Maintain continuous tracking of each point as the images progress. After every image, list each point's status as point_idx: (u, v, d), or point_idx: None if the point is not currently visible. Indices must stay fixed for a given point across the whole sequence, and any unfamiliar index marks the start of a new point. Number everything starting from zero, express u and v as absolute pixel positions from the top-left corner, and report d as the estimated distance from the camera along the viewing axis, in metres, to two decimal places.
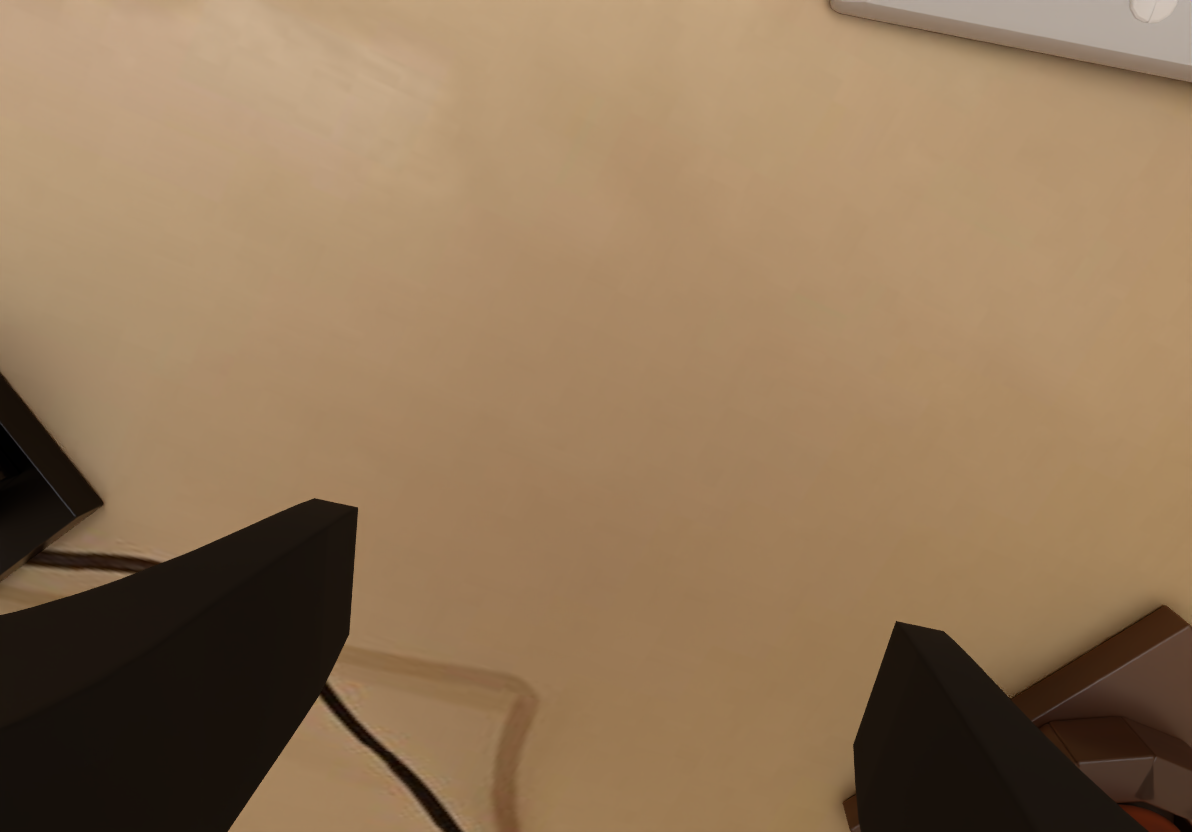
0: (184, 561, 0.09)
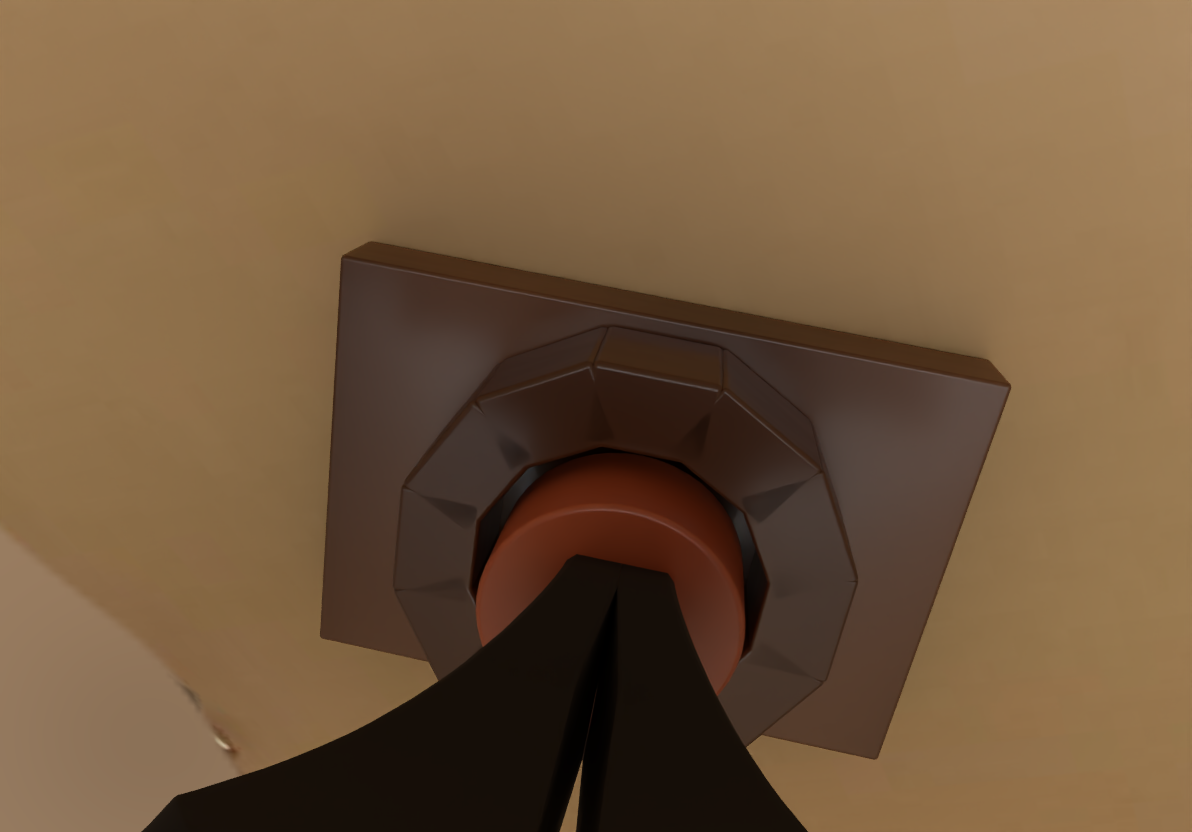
0: (517, 634, 0.09)
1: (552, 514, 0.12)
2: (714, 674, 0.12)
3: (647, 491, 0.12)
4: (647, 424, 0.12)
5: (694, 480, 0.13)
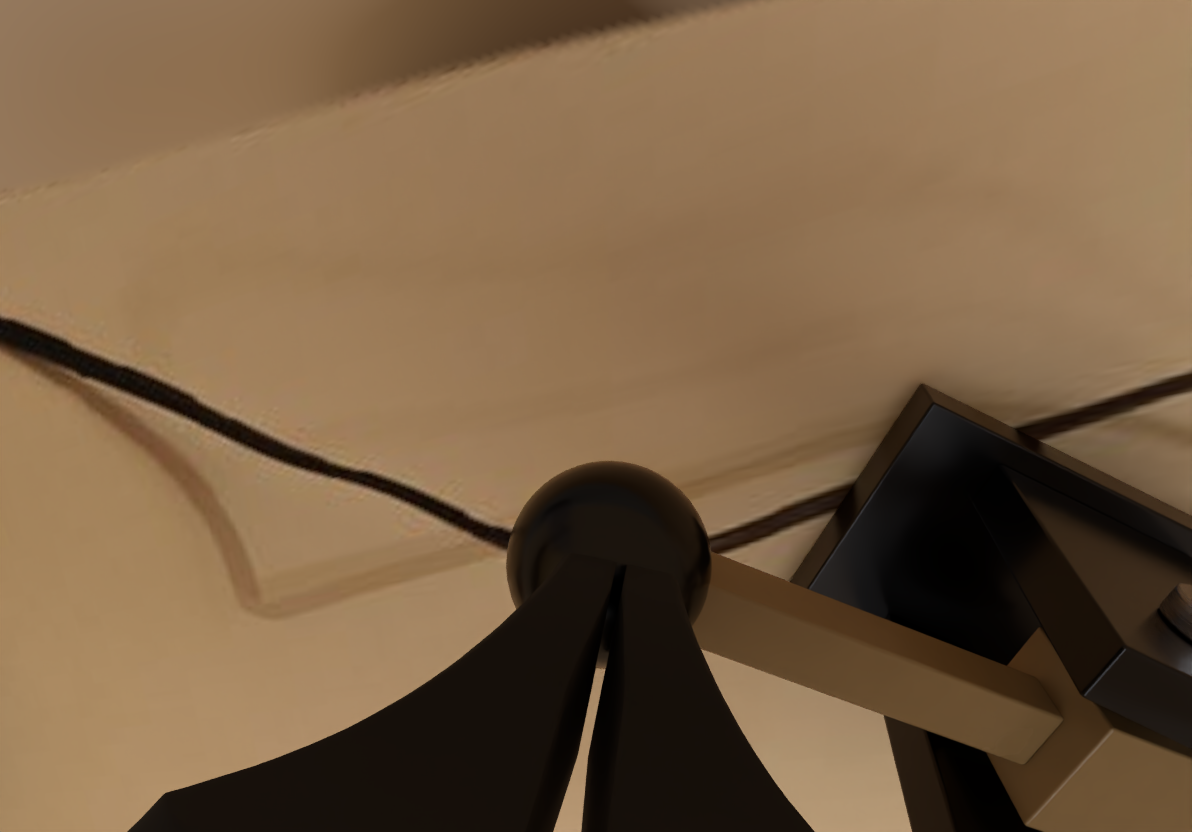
0: (510, 632, 0.09)
1: None
2: None
3: None
4: None
5: None
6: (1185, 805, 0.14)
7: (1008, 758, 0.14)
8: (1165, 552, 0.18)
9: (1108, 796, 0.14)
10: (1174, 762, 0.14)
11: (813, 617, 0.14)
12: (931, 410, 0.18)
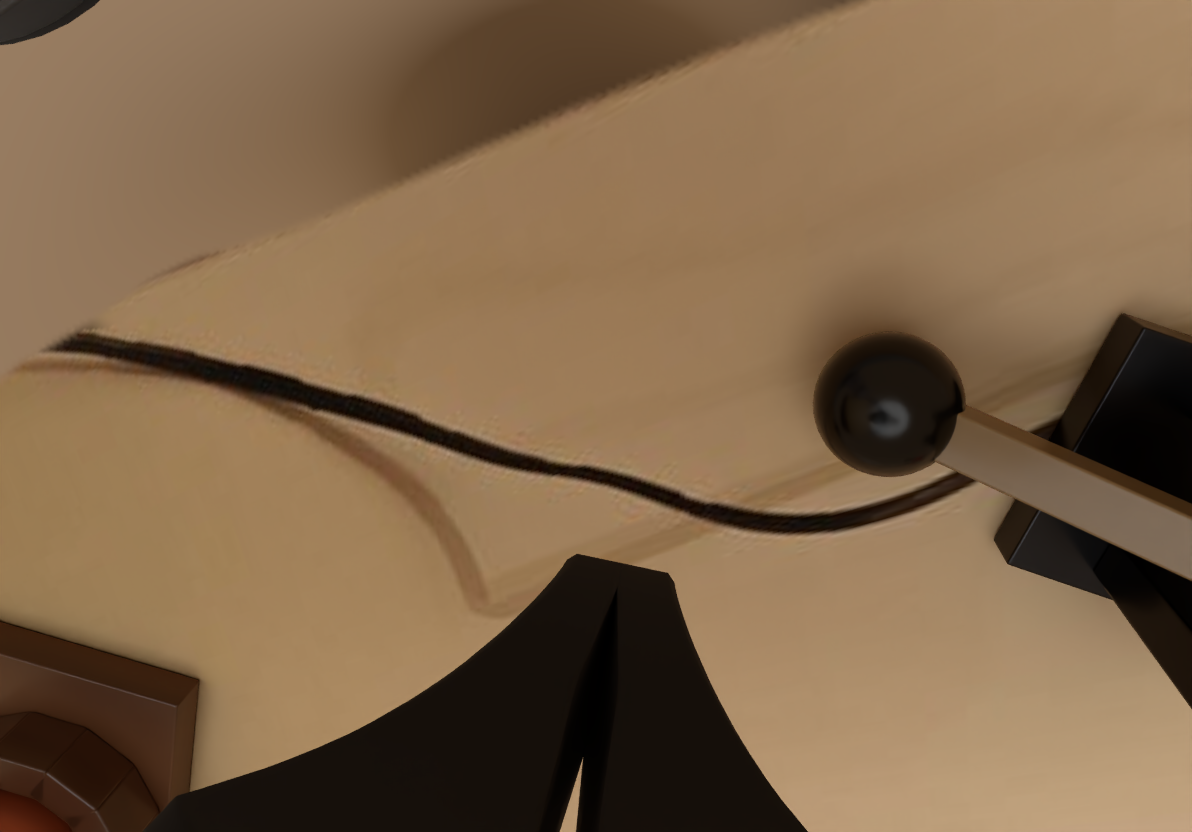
0: (517, 633, 0.09)
1: None
2: None
3: None
4: None
5: None
6: None
7: None
8: None
9: None
10: None
11: (1049, 452, 0.17)
12: (1143, 335, 0.19)
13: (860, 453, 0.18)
